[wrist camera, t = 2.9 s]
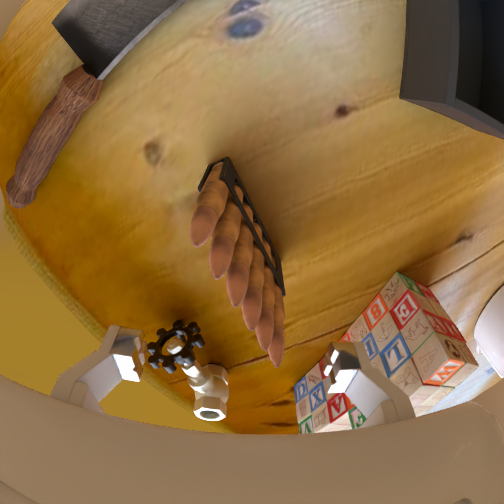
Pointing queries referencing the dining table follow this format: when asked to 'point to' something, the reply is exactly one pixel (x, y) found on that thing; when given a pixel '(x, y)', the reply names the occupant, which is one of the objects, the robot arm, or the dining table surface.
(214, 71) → the dining table surface
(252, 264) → the ammunition clip
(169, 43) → the dining table surface
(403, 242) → the dining table surface
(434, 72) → the bin
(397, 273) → the stack of blocks
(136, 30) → the meat cleaver
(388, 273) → the dining table surface
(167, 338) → the valve
